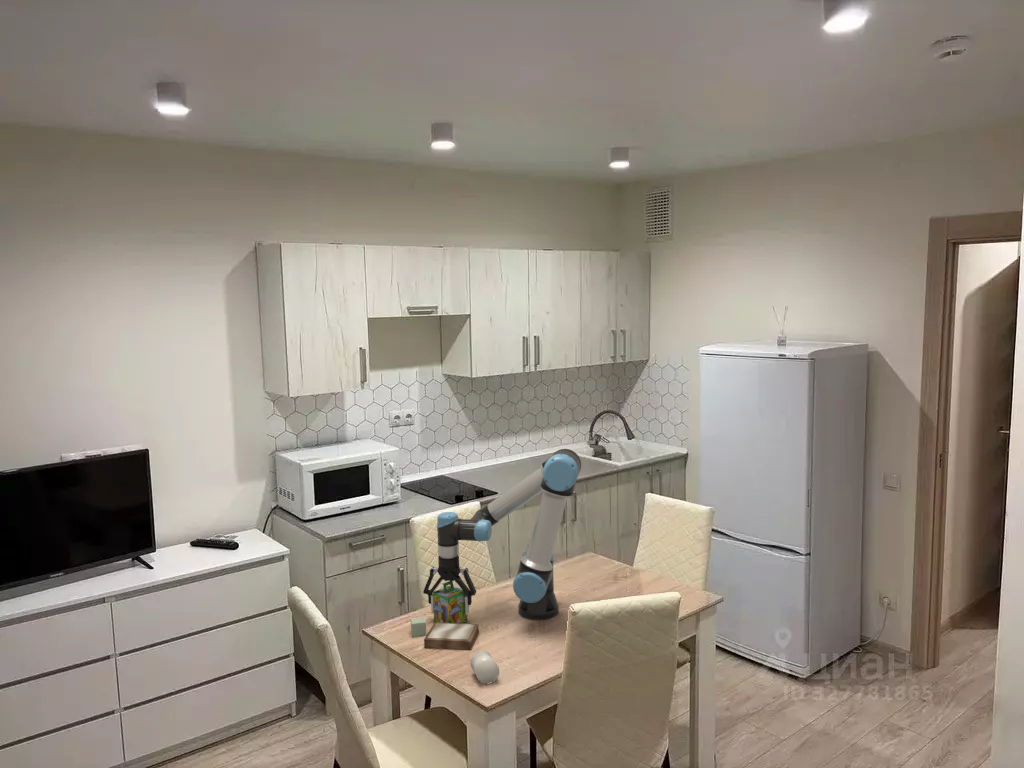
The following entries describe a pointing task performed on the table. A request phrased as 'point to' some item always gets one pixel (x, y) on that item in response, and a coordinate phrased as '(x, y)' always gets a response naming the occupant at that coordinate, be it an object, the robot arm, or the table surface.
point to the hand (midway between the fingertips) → (450, 612)
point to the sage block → (418, 627)
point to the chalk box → (449, 604)
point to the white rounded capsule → (484, 667)
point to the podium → (451, 636)
